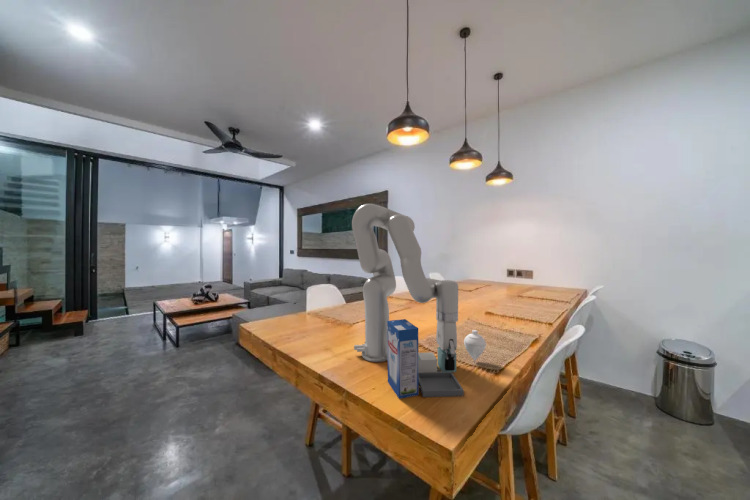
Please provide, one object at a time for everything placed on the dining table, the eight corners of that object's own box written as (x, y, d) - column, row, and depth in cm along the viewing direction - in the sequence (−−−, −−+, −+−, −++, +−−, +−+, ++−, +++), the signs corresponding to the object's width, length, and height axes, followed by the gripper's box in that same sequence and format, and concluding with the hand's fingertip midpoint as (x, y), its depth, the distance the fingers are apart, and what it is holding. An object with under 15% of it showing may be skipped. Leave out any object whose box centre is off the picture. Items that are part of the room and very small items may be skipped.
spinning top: (461, 357, 105) (461, 327, 105) (481, 357, 105) (481, 327, 104) (467, 366, 97) (467, 334, 97) (489, 367, 97) (489, 334, 97)
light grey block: (414, 373, 93) (414, 359, 93) (411, 365, 99) (411, 352, 99) (440, 372, 93) (440, 359, 93) (436, 364, 99) (436, 352, 99)
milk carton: (418, 395, 80) (418, 328, 79) (399, 399, 78) (398, 330, 77) (405, 378, 89) (405, 318, 89) (387, 381, 88) (387, 320, 87)
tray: (422, 397, 79) (422, 391, 79) (415, 378, 90) (415, 372, 90) (463, 396, 79) (463, 390, 79) (451, 377, 90) (451, 371, 90)
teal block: (441, 372, 94) (442, 353, 93) (437, 364, 100) (437, 346, 99) (456, 372, 94) (456, 353, 93) (451, 364, 100) (451, 346, 99)
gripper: (430, 309, 104) (430, 355, 105) (443, 323, 87) (443, 377, 88) (450, 309, 105) (449, 355, 105) (466, 322, 87) (465, 377, 88)
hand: (446, 365), depth 97 cm, fingers closed on teal block, 6 cm apart
